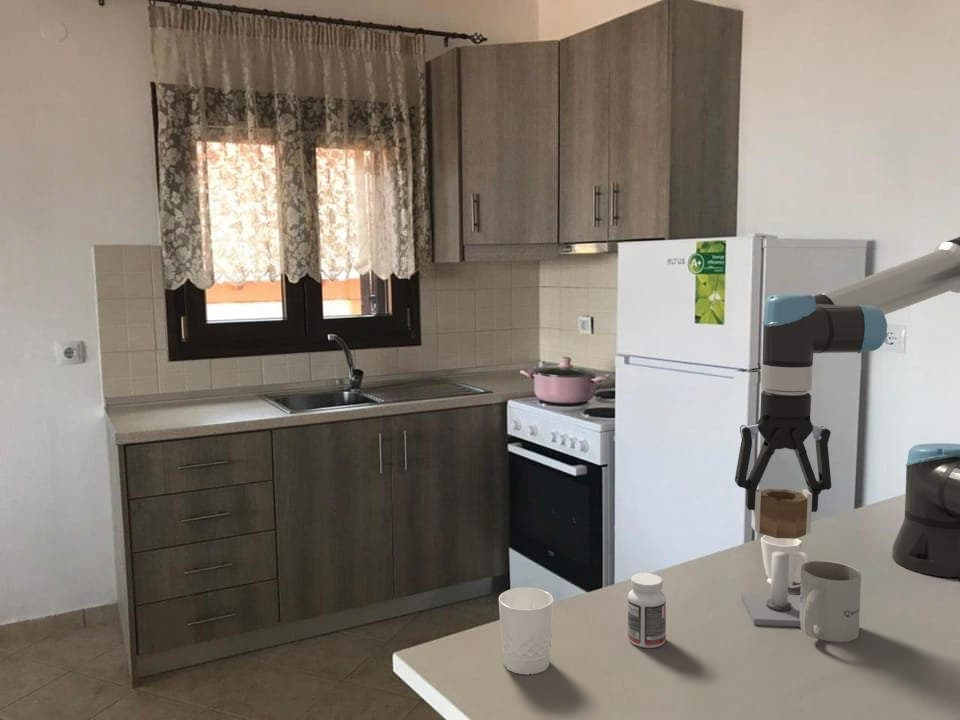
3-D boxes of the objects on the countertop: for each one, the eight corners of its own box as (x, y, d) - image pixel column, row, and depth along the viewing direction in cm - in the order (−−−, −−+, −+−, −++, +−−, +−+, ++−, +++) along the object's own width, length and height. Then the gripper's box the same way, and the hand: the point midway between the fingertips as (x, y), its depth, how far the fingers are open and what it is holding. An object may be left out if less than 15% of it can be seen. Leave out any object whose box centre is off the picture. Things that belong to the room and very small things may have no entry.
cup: (777, 572, 150) (778, 530, 149) (823, 591, 141) (825, 546, 140) (750, 580, 147) (752, 537, 146) (796, 599, 138) (798, 554, 137)
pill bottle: (667, 634, 126) (668, 574, 124) (663, 651, 120) (664, 588, 119) (630, 630, 128) (631, 569, 126) (624, 646, 122) (625, 583, 121)
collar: (797, 524, 134) (798, 489, 134) (809, 539, 127) (811, 502, 127) (752, 523, 135) (754, 488, 135) (762, 537, 128) (764, 501, 127)
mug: (820, 614, 133) (822, 556, 132) (869, 634, 126) (872, 573, 125) (773, 634, 126) (774, 573, 125) (822, 656, 119) (825, 591, 118)
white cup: (537, 683, 112) (537, 614, 111) (489, 668, 116) (488, 602, 115) (562, 659, 119) (562, 594, 117) (516, 646, 123) (515, 583, 121)
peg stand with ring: (801, 601, 137) (803, 544, 136) (819, 627, 127) (821, 566, 126) (741, 598, 139) (742, 542, 137) (753, 624, 129) (755, 564, 127)
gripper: (844, 388, 131) (837, 524, 134) (717, 386, 133) (713, 520, 136) (860, 395, 124) (852, 539, 126) (725, 394, 126) (721, 535, 129)
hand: (780, 529), depth 131 cm, fingers closed on collar, 7 cm apart
